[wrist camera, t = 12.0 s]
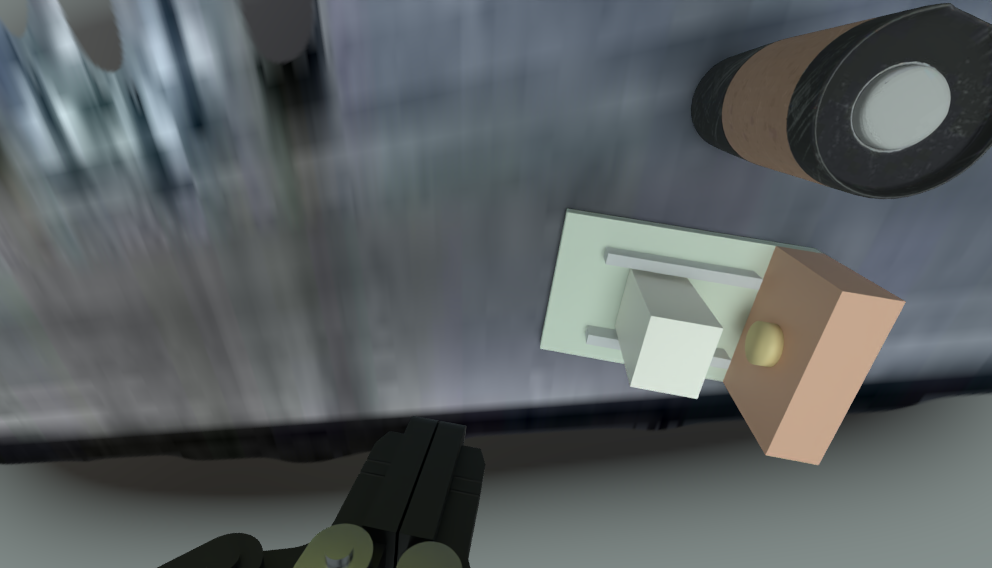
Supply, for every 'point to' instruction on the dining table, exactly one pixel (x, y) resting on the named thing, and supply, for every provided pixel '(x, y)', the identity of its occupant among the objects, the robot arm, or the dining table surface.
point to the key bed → (734, 318)
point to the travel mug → (859, 102)
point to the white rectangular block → (665, 333)
